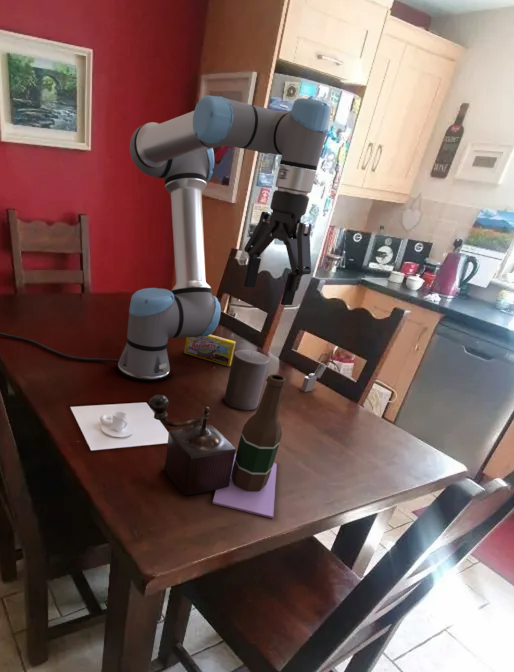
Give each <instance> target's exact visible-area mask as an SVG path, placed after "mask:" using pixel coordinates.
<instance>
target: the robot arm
mask: <svg viewBox="0 0 514 672" xmlns="http://www.w3.org/2000/svg"><path fill="white" fill-rule="evenodd" d="M331 115H332V106H331V105H330V103H328V102H326V101H322V100H317V99H313V98H305V97H303V98H302V97H301V98H296V99H295V100H294V101H293V104H292V108H291V110H290V111H280V110H275V109H271V108H266V107H262V106H259V105H253V104H250V103H246V102H241V101H238V100H234V99H230V98H226V97H223V96H222V95H208V94H207V95H204V96H202V97H201V98H200V99H199V102H198V103H196V105H195V108H194V110H192V111H190V112H186V113H185V114H182V115H180V116H176V117H174V118H171V119H169V120H166V121H163V122H161V123H159V122H153V121H151V122H147V123H145V124H142V125H140V126H139V127H138V128H136V130H135V131H134V132H133V134H132V136H131V138H130V141H129V153H130V158H131V160H132V162H133V164H134V165H135V167H136V168H137V169H138V170H139V171H140V172H141V173H143V174H144V175H147V176H149V177H153V178H157V179H164V189H165V191H166V192H167V193H168V194H169V195H170V204H171V206H170V207H171V223H172V239H173V257H174V275H175V285H174V286H173V287H172V288H171V289H170V290H169V289H167V288H157V287H146V288H141V289H138V290H136V291H135V292H134V293H132V295H131V298H130V303H129V308H128V321H127V332H126V333H127V335H126V343H125V346H124V348H123V350H122V353H121V354H120V357H119V359H118V358H92V357H79V356H74V355H69V354H65V353H62V352H60V351H58V350H56V349H53V348H50V347H48V346H46V345H44V344H42V343H41V342H38V341H36V340H33V339H30V338H26V337H23V336H19V335H14V334H8V333H4V332H0V336H2V337H6V338H12V339H16V340H20V341H25V342H28V343H31V344H34V345H37V346H39V347H40V348H41V349H44V350H46V351H48V352H50V353H54V354H55V355H58V356H60V357H63V358H66V359H70V360H76V361H83V362H84V361H85V362H107V363H109V362H110V363H117V371H118V373H119V374H120V375H122V376H123V377H125V378H127V379H130V380H134V381H137V382H142V383H159V382H162V381H165V380H166V379H168V378H169V376H170V372H171V367H170V362H169V355H168V350H167V348H168V342H169V339H176V338H177V339H179V338H181V339H182V338H187V337H195V338H197V337H202V336H208V335H210V334H211V335H213V333H214V332H215V330H216V329H217V327H218V325H219V323H220V320H221V312H222V310H221V308H222V307H221V303H220V301H219V299H218V298H217V296H215V295H213V293H212V287H211V286H210V285H209V284H208V283H207V282H206V280H207V279H206V259H205V238H204V237H205V236H204V217H203V195H202V194H203V191H204V190H205V189H206V187H207V185H208V183H207V182H209V181H210V180H211V178H212V176H213V174H214V171H213V169H214V168H215V153H214V149H216V148H219V147H231V148H232V147H233V148H238V149H243V150H248V151H254V152H258V153H260V154H264V155H269V154H270V155H278V156H281V159H280V161H279V167H278V170H277V171H278V172H277V175H276V180H275V184H274V186H275V187H276V189H275V190H274V191H273V193H272V197H271V201H270V207H269V208H270V210H272V211H264V210H263V211H261V214H260V217H259V220H258V222H257V223H256V226H255V228H254V230H253V232H252V233H251V235H250V237H249V239H248V241H247V242H246V245H244V249H243V251H244V253H247V255H248V261H247V265H246V275H245V279H244V284H243V286H244V287H245V288H255V287H256V284H257V278H258V275H259V270H260V266H261V261H262V254H263V253H264V252H265V251H266V250H267V248H268V247H269V246H270V245H271V244H272V242H273V241H275V240H278V241H280V242H282V243H283V245H285V248H286V253H287V256H288V261H289V265H290V272H289V273H288V275H287V278H286V282H285V285H284V290H283V293H282V298H281V302H280V305H282V306H293V303H294V299H295V295H296V292H298V290H299V287H300V284H301V280H302V277H303V276H305V275H310V274H311V273H312V258H311V257H312V256H311V254H312V253H311V231H312V223H310V222H302V217H303V216H305V214H307V209H308V205H309V201H310V196H309V195H308V194H310V193H312V190H313V186H314V183H315V178H316V174H317V170H318V167H319V163H320V158H321V155H322V151H323V147H324V145H325V140H326V137H327V133H328V132H329V125H330V119H331Z"/></svg>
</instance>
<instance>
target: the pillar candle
mask: <svg viewBox="0 0 514 672" xmlns="http://www.w3.org/2000/svg"><path fill="white" fill-rule="evenodd" d="M270 361H271V360H270V358H269V356H267V355H265V354H263V353H261V352H259V351H254V350H251V349H238V350H234V352H233V357H232V362H231V365H230V370H229V375H228V378H227V379H228V380H227V383H226V384H227V385H226V388H225V394H224V398H223V401H224V403H225V404H226V405H228V406H229V407H232V408H234V409H238V410H241V411H252V410H255V409H256V408H257V409H258V407H259V403H260V400H261V399H260V398H261V394H262V391H263V388H264V383H265V381H266V376H267V370H268V368H269V364H270Z"/></svg>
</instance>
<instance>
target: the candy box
mask: <svg viewBox="0 0 514 672" xmlns="http://www.w3.org/2000/svg"><path fill="white" fill-rule="evenodd" d="M236 343H237V342H236V340H232V339H227V338H225V337H220V336H217V335H214V334H210V335H208V336H202V337H197V338H195V337H185V344H184V350H183V353H184V354H186V355H189V356H192V357H196V358H199V359H202V360H205V361H209V362H213V363H216V364H219V365H222V366H226V367H231V365H232V360H233V356H234V352H235V348H236Z"/></svg>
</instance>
